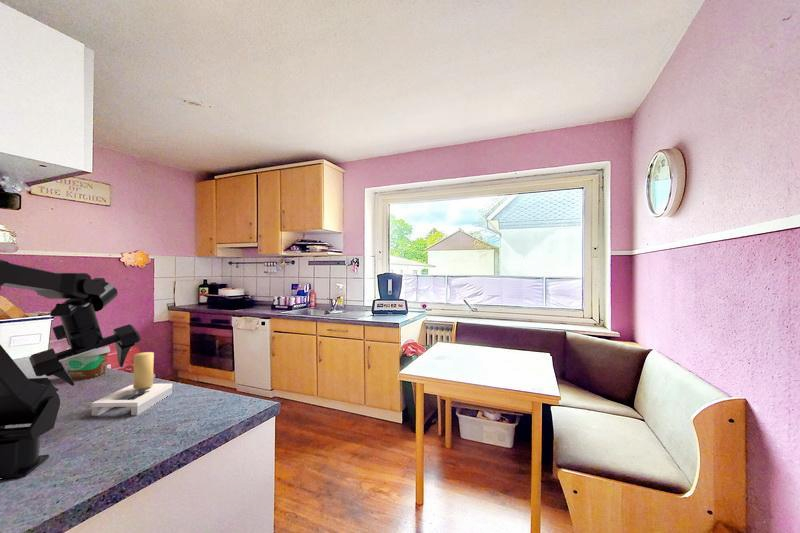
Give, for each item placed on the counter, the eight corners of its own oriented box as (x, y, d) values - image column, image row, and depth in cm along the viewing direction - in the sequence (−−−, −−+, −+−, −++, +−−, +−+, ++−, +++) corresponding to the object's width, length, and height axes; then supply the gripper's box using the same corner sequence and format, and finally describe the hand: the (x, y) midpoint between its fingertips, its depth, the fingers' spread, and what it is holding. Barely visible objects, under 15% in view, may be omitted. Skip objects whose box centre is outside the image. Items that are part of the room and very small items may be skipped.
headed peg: (154, 399, 93) (156, 353, 93) (135, 404, 89) (137, 356, 89) (149, 395, 95) (150, 351, 95) (130, 400, 92) (131, 354, 92)
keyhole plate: (137, 415, 83) (137, 402, 83) (91, 415, 82) (91, 403, 82) (172, 394, 96) (172, 383, 97) (133, 394, 96) (133, 383, 96)
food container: (52, 383, 104) (53, 351, 104) (66, 376, 110) (67, 347, 110) (98, 380, 107) (99, 349, 108) (109, 374, 113) (110, 345, 114)
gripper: (119, 296, 86) (132, 344, 93) (14, 323, 72) (37, 377, 79) (134, 313, 81) (147, 363, 87) (23, 346, 67) (47, 403, 73)
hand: (98, 375), depth 81 cm, fingers open, 9 cm apart
